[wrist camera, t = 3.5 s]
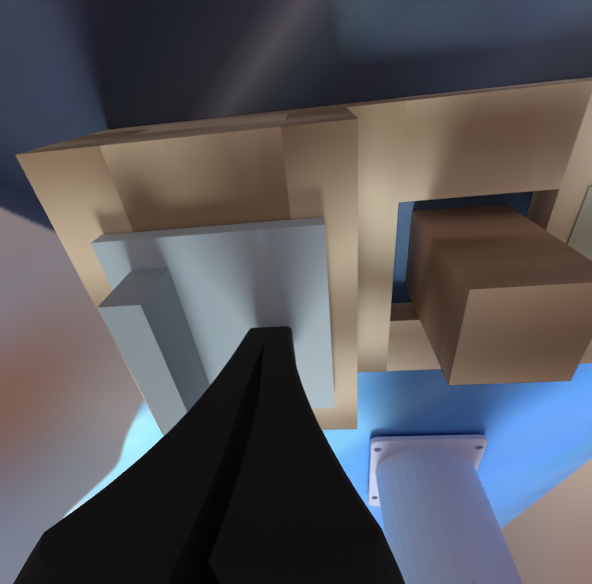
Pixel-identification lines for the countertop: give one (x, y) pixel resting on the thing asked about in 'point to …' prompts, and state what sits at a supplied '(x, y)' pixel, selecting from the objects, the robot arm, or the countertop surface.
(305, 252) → the lid
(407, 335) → the puzzle board
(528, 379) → the walnut block
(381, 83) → the countertop surface
